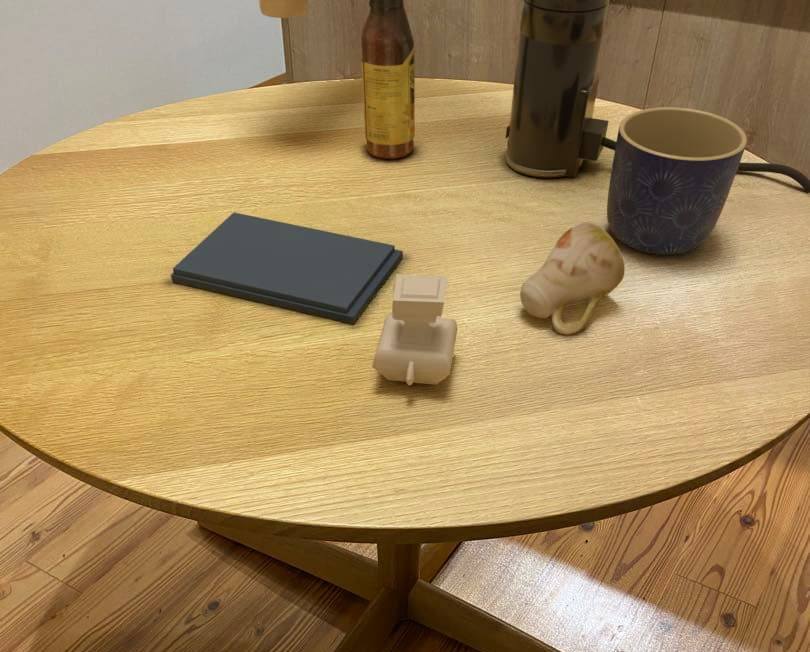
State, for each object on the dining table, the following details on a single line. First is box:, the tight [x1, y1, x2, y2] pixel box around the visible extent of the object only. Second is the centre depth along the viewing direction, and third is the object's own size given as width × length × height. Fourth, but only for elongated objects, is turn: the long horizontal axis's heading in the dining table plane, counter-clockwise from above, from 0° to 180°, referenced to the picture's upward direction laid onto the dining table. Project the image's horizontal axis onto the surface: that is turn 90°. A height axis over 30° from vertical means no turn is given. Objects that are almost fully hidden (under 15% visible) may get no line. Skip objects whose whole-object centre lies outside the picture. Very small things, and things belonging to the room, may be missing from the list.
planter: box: [606, 106, 748, 255], centre depth 82 cm, size 12×12×11 cm
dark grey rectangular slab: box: [170, 212, 404, 325], centre depth 81 cm, size 20×13×1 cm, turn 69°
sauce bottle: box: [360, 0, 416, 160], centre depth 93 cm, size 6×6×20 cm
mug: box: [519, 221, 626, 335], centre depth 76 cm, size 8×10×10 cm
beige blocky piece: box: [372, 273, 458, 386], centre depth 68 cm, size 9×7×8 cm
